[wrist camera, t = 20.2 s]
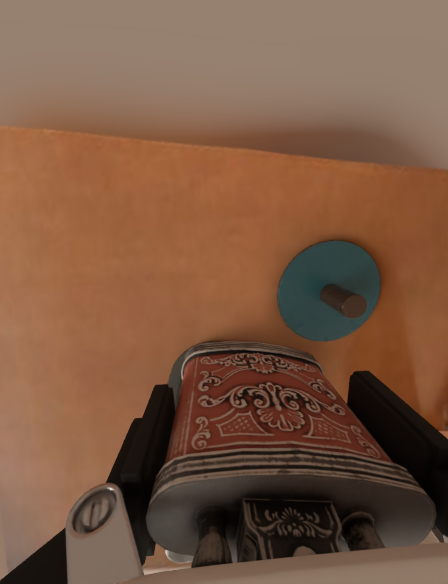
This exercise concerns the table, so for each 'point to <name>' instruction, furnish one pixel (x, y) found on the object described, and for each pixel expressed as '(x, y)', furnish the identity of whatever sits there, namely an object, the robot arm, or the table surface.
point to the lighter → (275, 465)
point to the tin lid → (328, 290)
